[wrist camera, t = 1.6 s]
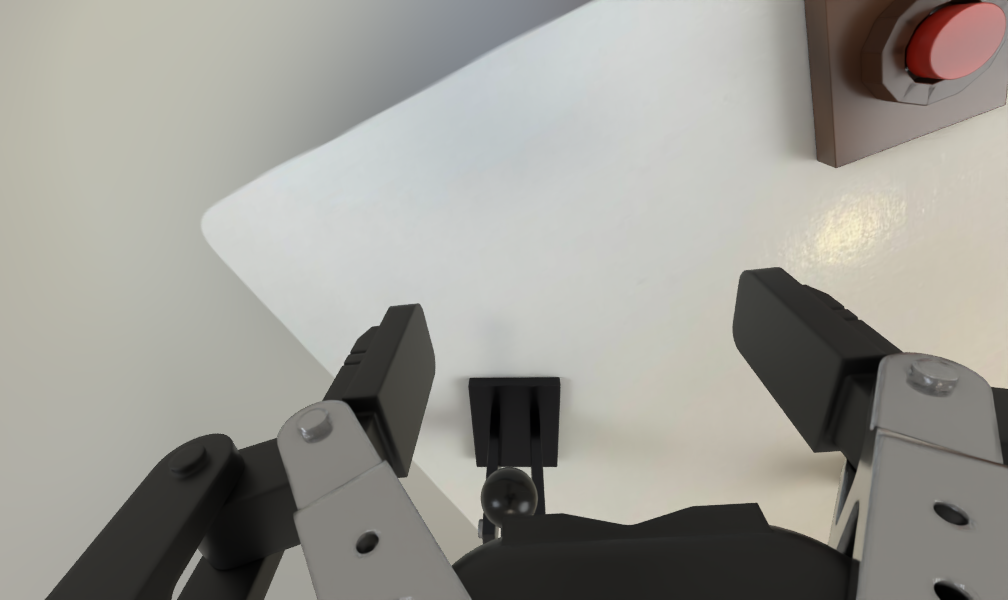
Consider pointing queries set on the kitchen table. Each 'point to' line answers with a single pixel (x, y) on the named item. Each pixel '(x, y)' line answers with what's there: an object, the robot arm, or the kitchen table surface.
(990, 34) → the red button
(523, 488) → the lever
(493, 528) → the bracket
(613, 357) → the kitchen table surface
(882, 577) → the robot arm
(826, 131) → the button block
